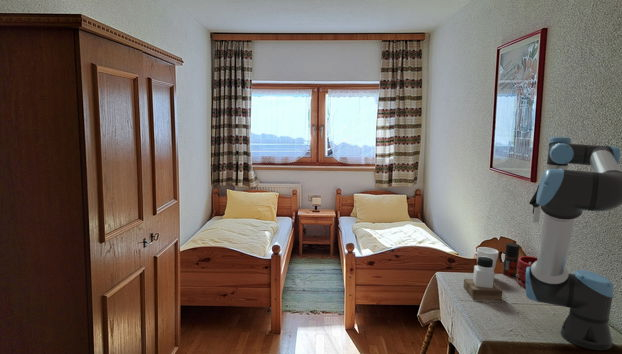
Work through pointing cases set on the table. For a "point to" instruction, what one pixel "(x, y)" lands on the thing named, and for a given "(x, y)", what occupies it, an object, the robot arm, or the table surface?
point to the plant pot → (524, 268)
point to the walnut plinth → (482, 291)
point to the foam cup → (488, 254)
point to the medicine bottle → (484, 273)
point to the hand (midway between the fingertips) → (549, 226)
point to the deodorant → (511, 259)
